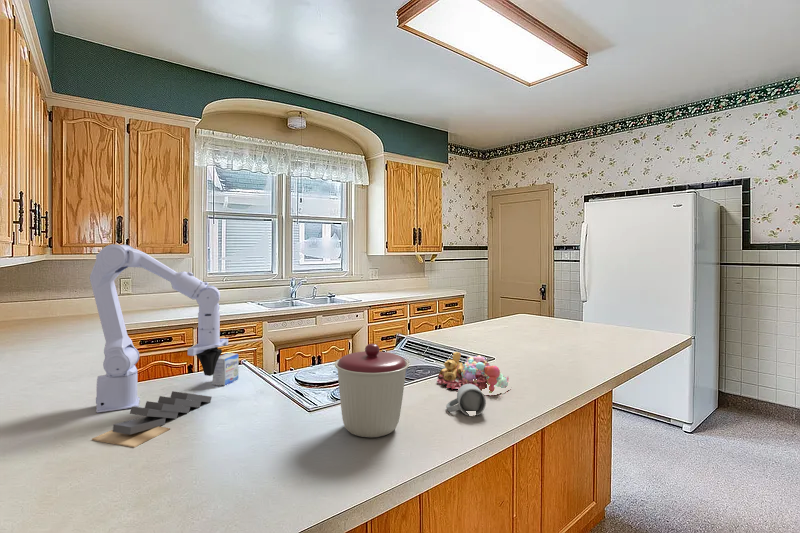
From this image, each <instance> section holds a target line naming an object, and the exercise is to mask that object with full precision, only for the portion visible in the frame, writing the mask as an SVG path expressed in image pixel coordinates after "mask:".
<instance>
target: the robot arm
mask: <svg viewBox="0 0 800 533" xmlns="http://www.w3.org/2000/svg"><path fill="white" fill-rule="evenodd" d="M128 268H139V269H140V268H142V269H144V270H146V271H148V272H150V273H152V274H153V275H156V276H158V277H160V278H162V279H164V280H165V281H168V282H170V285H171V288H172V289H173V290H174V291H176V292H178V293H180V294H182V295H184V296H185V297H187V298H189V299H191V300H196V303H197V304H198V313H197V343H196V344H195V345H192V346H191V347H188V348H187V356H190V357H194V356H196V357H197V359H198V360H199V361H200V364H201V367H202V371H203V374H204V375H203V376H207V377H208V376H209V377H211V376H213V374H214V370H215V367H216V363H217V361H218V358H219V356H222V355H221V354H222V353H223V349H221V347H225V346H228V345H229V338H220V337H221V336H220V335H221V332H220V331H221V330H220V328H221V326H220V324H221V319H220V318H221V316H220V315H221V313H220V312H221V311H220V303H219V301H220V299H221V291H220V290H219V289H218V287H216V286H215V285H212V284H211V285H209V284H210V283H209V282H208V281H203V280H201V279H199V278H197V277H196V276H194V273H193V272H192V271H188V272H187V271H185V270H184V271H176V270H175V269H173V268H171V267H169V266H168V265H166V264H165V263H163V262H161V261H159V260H157V259H156V258H155V257H153V256H151V255H149V254H148V253H146V252H144V251H142V250H140V249H138V248H134V247H133V246H132V245H128V244H116V243H112V244H108V245H105V246H103V248H102V249H101V250H100V251H98V253H97V254H96V255H95V262H94V265H93V268H92V270H91V271H90V272H91V273H90V274H89V275H90V276H89V280H90V284H91V288H92V293H93V296H94V301H95V305H96V309H97V312H98V316H99V319H100V324H101V329H102V332H103V336H104V340H105V344H104V349H103V354H104V360H103V362H102V363H103V364H102V366H103V369H104V371H105V374H103V375H102V374H101V375H98V376H97V378H96V397H95V404H96V410H95V411H96V413H104V412H106V413H107V412H111V411H119V410H125V409H131V408H132V407H140V396H138V394H139V393H138V368H137V366H136V365H137V363H138V362H139V360H140V352H139V350H138V349H137V348H136V347H135V346H134V343H133V340H132V339H131V337H130V336H129V335H128V332H127V328H126V323H125V320H124V316H123V311H122V307H121V303H120V299H119V296H118V291H117V288H116V283H115V281H116V279H117V277H119V275H120V274H121V273H123V271H124V270H126V269H128Z"/></svg>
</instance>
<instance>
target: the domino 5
mask: <svg viewBox="0 0 800 533" xmlns="http://www.w3.org/2000/svg"><path fill="white" fill-rule="evenodd" d="M169 397H170V398H178V399H185V400H193V401H201V403H202V402H203V403H211V400H212V396H211V395H210V396H208V395H202V394H196V393H195V394H194V393H188V392H182V391H181V392H180V391H171V394H170V396H169Z"/></svg>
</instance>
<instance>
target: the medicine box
mask: <svg viewBox="0 0 800 533" xmlns="http://www.w3.org/2000/svg"><path fill="white" fill-rule="evenodd" d="M239 361H240V360H239V354H238V353H233V352H227V353H224V354H222V355H220V356H219V358H218V361H217V363H216V367H215V370H214V374H213V375H212V385H213V386H221V385H224V387H225V385H226V386H227V384H228V385H230V384H231V383H234V382H235V381H236V380H237V381H238V379H239Z"/></svg>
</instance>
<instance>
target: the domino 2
mask: <svg viewBox="0 0 800 533" xmlns="http://www.w3.org/2000/svg"><path fill="white" fill-rule="evenodd" d="M129 414H131V415H137V416H142V417H145V416H151V417H163V418H166V419H177V418H178V414H179V412H173V411H163V410H156V409H149V408H145V407H140V406H139V407H132V408H130V411H129Z"/></svg>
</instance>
